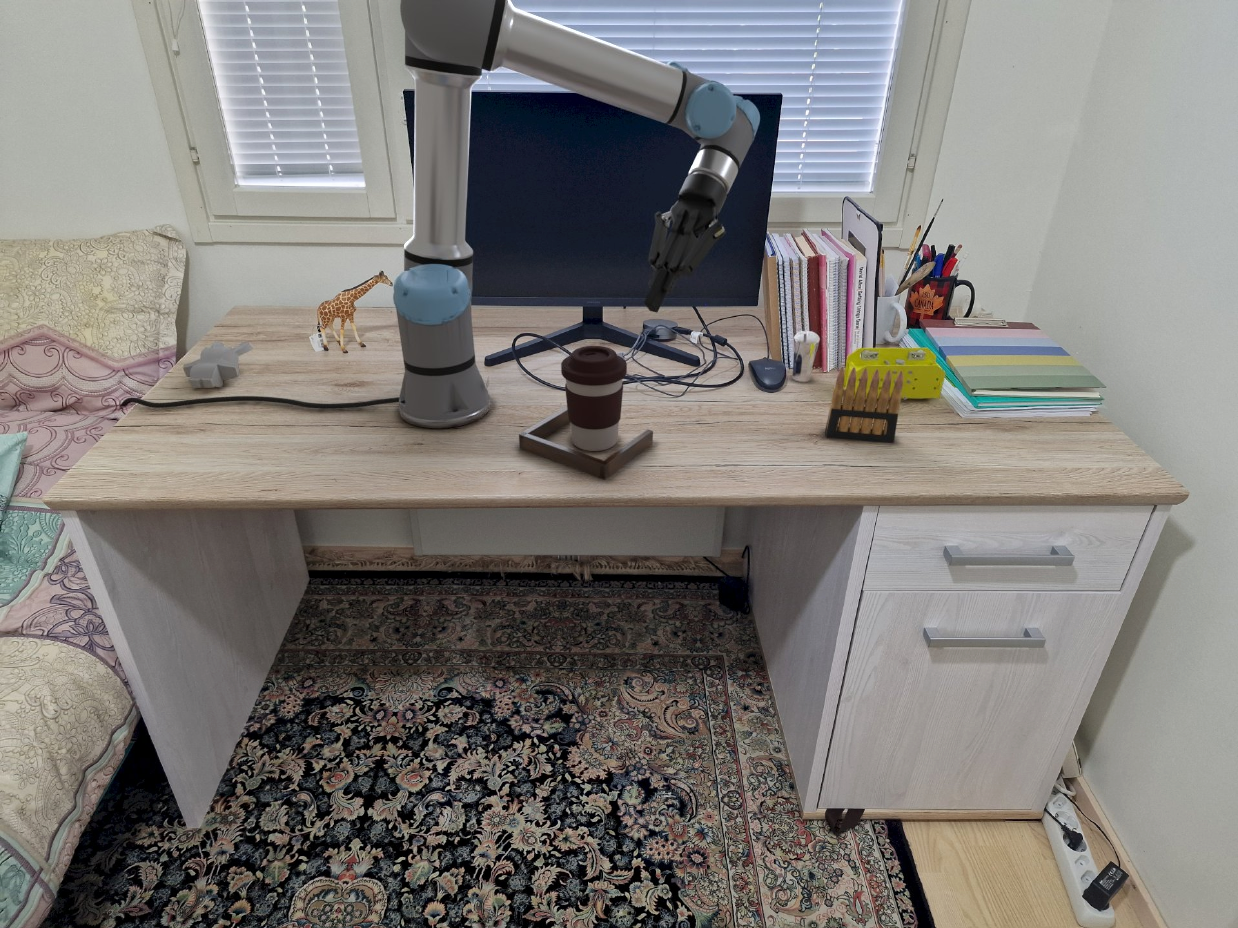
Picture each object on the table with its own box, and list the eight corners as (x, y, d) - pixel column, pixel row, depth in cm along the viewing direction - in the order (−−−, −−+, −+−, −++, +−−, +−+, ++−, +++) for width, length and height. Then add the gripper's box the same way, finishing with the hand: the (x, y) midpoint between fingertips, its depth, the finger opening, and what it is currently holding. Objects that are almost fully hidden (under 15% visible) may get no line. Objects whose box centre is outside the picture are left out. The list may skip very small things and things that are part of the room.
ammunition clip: (825, 437, 123) (836, 368, 117) (824, 431, 125) (835, 364, 119) (893, 443, 122) (908, 373, 116) (892, 437, 123) (907, 369, 117)
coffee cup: (621, 459, 117) (622, 368, 109) (557, 454, 118) (554, 364, 110) (629, 429, 125) (630, 343, 117) (570, 424, 126) (568, 339, 119)
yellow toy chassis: (927, 389, 139) (937, 346, 135) (939, 403, 135) (949, 359, 130) (840, 389, 139) (847, 347, 135) (849, 403, 134) (857, 359, 130)
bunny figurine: (169, 372, 133) (204, 332, 145) (179, 397, 137) (212, 356, 148) (224, 372, 134) (254, 332, 146) (232, 397, 137) (261, 356, 149)
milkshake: (785, 382, 141) (792, 332, 136) (791, 372, 146) (798, 322, 141) (810, 387, 140) (818, 335, 135) (815, 376, 144) (823, 325, 139)
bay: (570, 417, 128) (569, 404, 127) (652, 444, 121) (653, 430, 119) (519, 448, 119) (518, 434, 118) (605, 479, 111) (605, 465, 110)
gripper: (747, 204, 128) (692, 327, 124) (680, 195, 134) (626, 311, 130) (736, 175, 121) (677, 304, 118) (666, 167, 128) (608, 288, 124)
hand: (650, 307), depth 124 cm, fingers closed
